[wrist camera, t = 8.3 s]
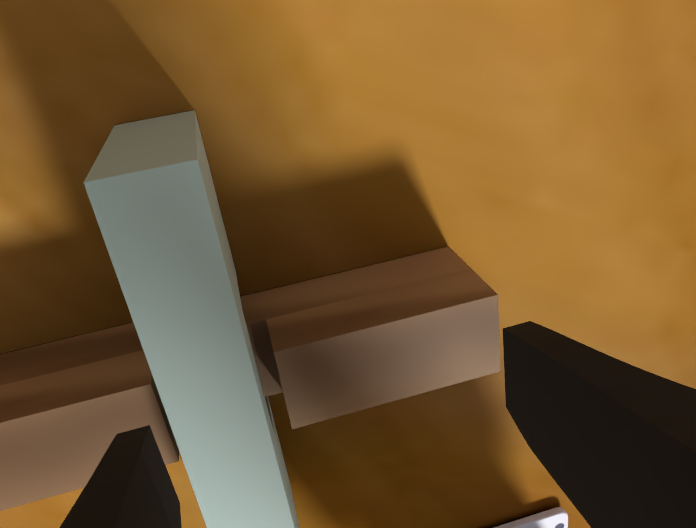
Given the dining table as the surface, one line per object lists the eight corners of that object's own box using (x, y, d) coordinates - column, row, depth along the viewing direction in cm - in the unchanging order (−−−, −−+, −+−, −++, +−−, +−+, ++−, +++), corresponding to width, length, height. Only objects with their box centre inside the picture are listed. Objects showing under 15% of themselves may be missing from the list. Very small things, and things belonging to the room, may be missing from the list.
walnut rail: (453, 314, 24) (500, 371, 20) (-27, 439, 21) (-71, 530, 17) (448, 246, 22) (497, 294, 19) (-65, 370, 20) (-121, 453, 16)
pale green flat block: (291, 486, 25) (318, 618, 20) (234, 503, 25) (247, 641, 20) (194, 110, 18) (197, 159, 13) (114, 125, 18) (83, 182, 13)
